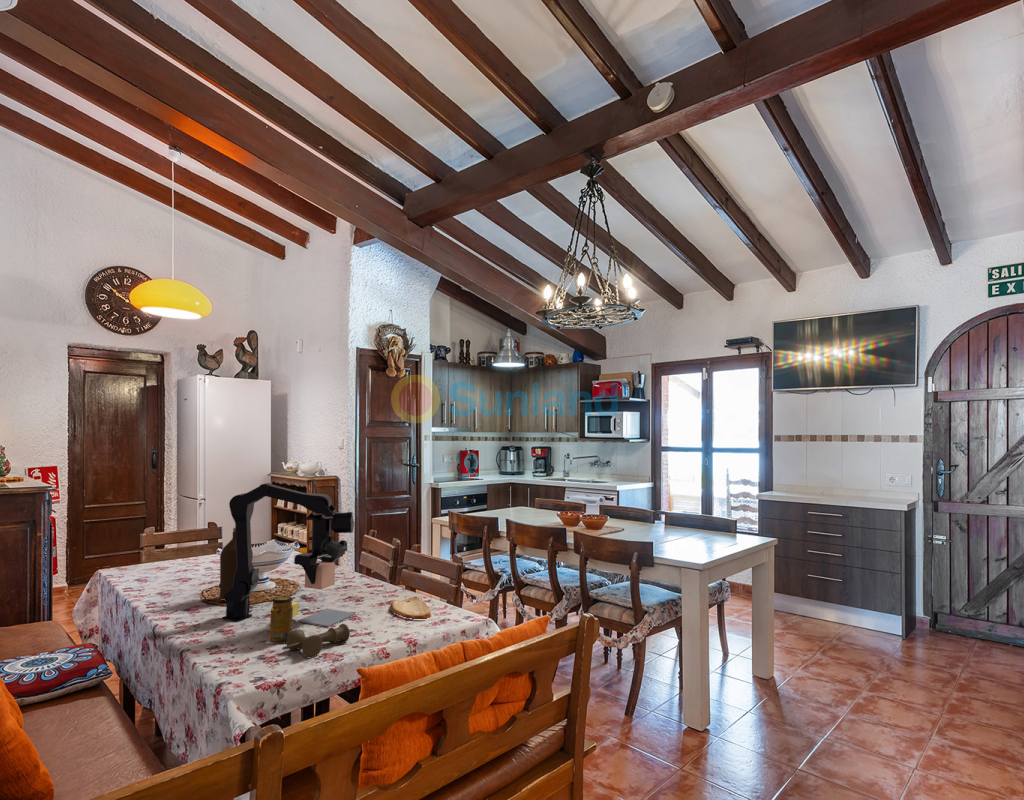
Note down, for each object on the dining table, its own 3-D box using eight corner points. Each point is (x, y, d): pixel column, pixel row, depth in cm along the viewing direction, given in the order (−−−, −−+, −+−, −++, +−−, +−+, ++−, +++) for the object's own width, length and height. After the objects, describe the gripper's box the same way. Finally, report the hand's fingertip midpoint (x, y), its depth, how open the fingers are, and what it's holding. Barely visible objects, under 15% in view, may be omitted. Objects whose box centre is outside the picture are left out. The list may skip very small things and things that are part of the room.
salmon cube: (321, 589, 187) (321, 566, 188) (304, 587, 189) (305, 565, 190) (334, 584, 193) (334, 562, 194) (318, 582, 196) (318, 560, 196)
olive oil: (256, 595, 214) (260, 526, 215) (239, 603, 204) (242, 531, 205) (229, 593, 216) (233, 525, 217) (211, 601, 205) (215, 529, 206)
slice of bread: (427, 623, 189) (428, 611, 189) (376, 618, 193) (377, 606, 193) (445, 607, 207) (446, 596, 207) (398, 603, 211) (398, 592, 211)
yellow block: (289, 618, 189) (290, 605, 190) (279, 616, 191) (280, 604, 191) (298, 615, 193) (298, 602, 193) (288, 613, 195) (289, 601, 195)
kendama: (355, 646, 168) (291, 664, 153) (335, 639, 174) (272, 655, 159) (356, 625, 169) (293, 640, 153) (336, 618, 175) (273, 633, 159)
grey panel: (328, 627, 181) (328, 625, 181) (297, 622, 186) (297, 620, 186) (355, 614, 195) (356, 613, 195) (326, 610, 199) (326, 608, 199)
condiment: (272, 635, 173) (274, 594, 174) (301, 635, 174) (303, 594, 175) (264, 644, 166) (266, 601, 167) (295, 644, 167) (297, 601, 168)
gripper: (322, 539, 181) (321, 591, 180) (358, 530, 198) (357, 576, 197) (293, 537, 185) (292, 587, 184) (331, 528, 202) (330, 574, 201)
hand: (320, 581), depth 191 cm, fingers closed on salmon cube, 7 cm apart
